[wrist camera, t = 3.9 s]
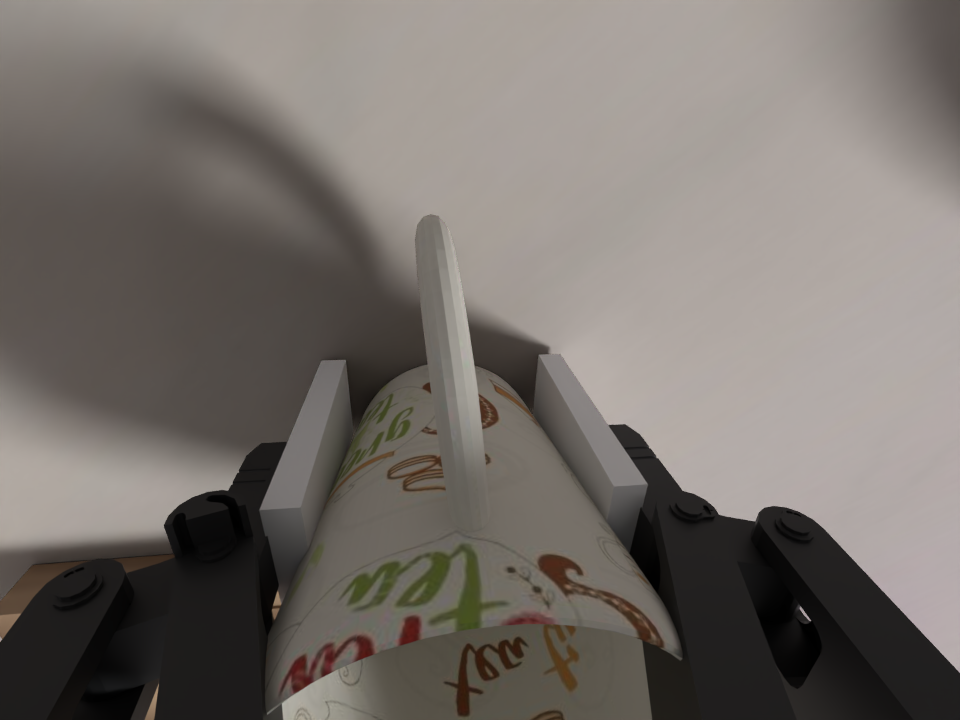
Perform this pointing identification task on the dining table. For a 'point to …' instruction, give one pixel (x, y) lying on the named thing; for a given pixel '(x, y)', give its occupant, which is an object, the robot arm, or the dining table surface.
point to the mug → (461, 558)
